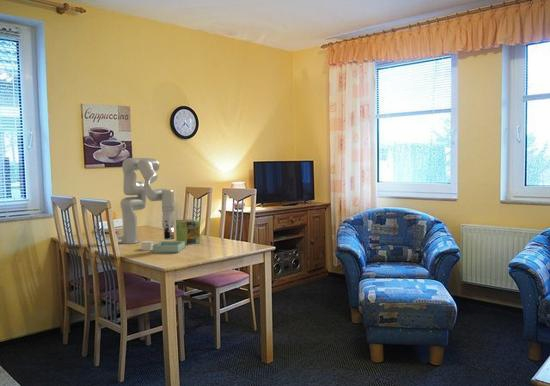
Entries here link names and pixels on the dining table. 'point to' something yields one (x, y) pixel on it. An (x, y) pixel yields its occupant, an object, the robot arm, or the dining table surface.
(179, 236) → the protein box
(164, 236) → the clear brown jar
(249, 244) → the dining table surface
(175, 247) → the tote
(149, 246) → the grey block
